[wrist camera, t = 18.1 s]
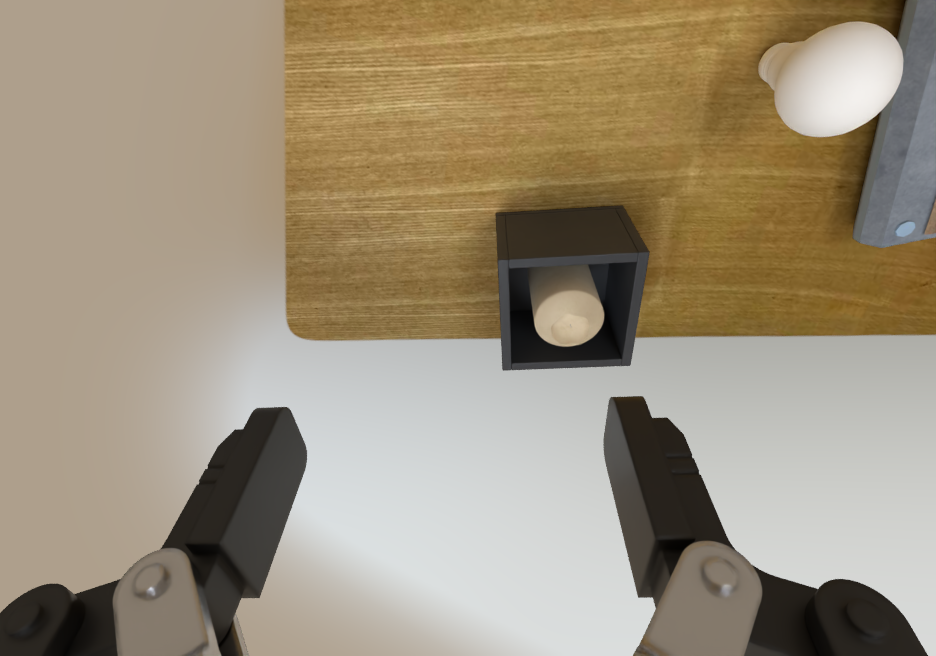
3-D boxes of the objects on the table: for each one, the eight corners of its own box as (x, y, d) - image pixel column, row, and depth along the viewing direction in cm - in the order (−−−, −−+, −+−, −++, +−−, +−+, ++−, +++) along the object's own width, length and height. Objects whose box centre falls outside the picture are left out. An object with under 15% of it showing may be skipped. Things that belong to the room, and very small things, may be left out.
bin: (500, 314, 49) (502, 370, 43) (495, 212, 43) (497, 260, 36) (609, 309, 49) (630, 365, 42) (622, 205, 42) (649, 252, 35)
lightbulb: (823, 77, 36) (933, 115, 27) (737, 121, 38) (813, 169, 29) (811, -9, 33) (932, 0, 24) (718, 43, 35) (797, 70, 26)
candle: (562, 228, 43) (580, 288, 35) (597, 268, 45) (622, 333, 37) (514, 264, 45) (521, 329, 37) (550, 300, 48) (563, 368, 40)
